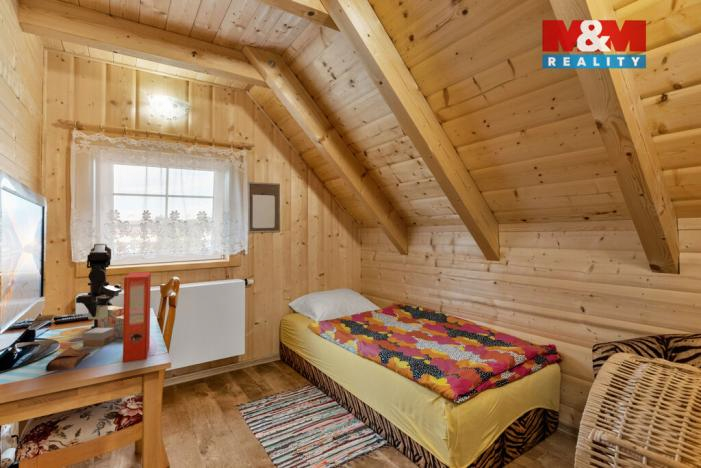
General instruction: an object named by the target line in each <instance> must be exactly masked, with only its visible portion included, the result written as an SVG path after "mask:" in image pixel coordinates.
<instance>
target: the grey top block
mask: <svg viewBox="0 0 701 468" xmlns="http://www.w3.org/2000/svg"><path fill="white" fill-rule="evenodd" d="M112 335H114V328H92V329H90V330H87V331H84V332H83V333H82V341H83V340H103V339H105V338H107V337H110V336H112Z"/></svg>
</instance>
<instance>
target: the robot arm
mask: <svg viewBox="0 0 701 468" xmlns="http://www.w3.org/2000/svg"><path fill="white" fill-rule="evenodd" d="M86 260H87V261H86V269H90V271H89V273H88V279H89V282H88V283H87V286H89V289H90V290H89V292H87V294H81V295H78V296H76V298H75V303H76V304H83V305H84V306H85V308H86V309H87V312H88V311H89V312H90V314H91V316H92V317H95V316H96V308H97V305H108V306H114V305H113V304H112V302H111V300H112V299H114V298H115V297H119V295H120V293H122V285H120V284H114V285H110V282H109V281H107V268H109V266H111V260H112V249H111V248H110V247H108V244H107V243H94V246H93V247H92V248H91V249H90V251H89V254H87V259H86ZM90 328H92V329H94V328H98V319H93V325H92V326H90Z"/></svg>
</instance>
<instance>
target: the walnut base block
mask: <svg viewBox="0 0 701 468" xmlns="http://www.w3.org/2000/svg"><path fill="white" fill-rule="evenodd" d="M114 340H115V336H114V335H112V336H110V337H107V338H105V339H103V340H83V339H82V345H83V347H103V346H106V345H107V344H109V343H111V342H114Z"/></svg>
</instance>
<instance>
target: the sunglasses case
mask: <svg viewBox="0 0 701 468" xmlns="http://www.w3.org/2000/svg"><path fill="white" fill-rule="evenodd" d="M90 354H91V352H89V351H86V350H82V349H76V348H72V347H71V346H69V347H68V348H67V349H64V351H62V352H61V353H60V354H57V356H55V357H54V358H53V359H52V360H50V361H49V362H48V363H47V365H46V366H45V370H46V372H47V373H49V372H58V371H64V370H73V369H75V368H76V366H77V365H78V364H79V363H80V362H82V361H83V359H85V358H86V357H88V355H90Z"/></svg>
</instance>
